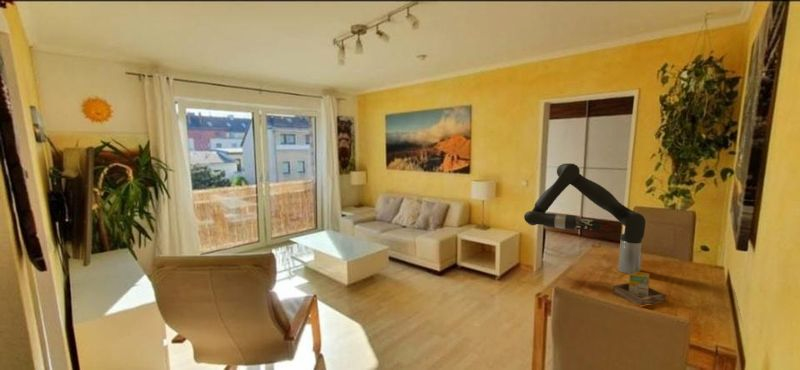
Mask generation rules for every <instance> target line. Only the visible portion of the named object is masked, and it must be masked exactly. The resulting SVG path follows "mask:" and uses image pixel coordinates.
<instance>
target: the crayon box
mask: <svg viewBox="0 0 800 370" xmlns="http://www.w3.org/2000/svg"><path fill="white" fill-rule="evenodd" d="M636 273H638V274H636ZM650 275H651V274H650V273H649V272H648V273H647V272H643V271H642V272H641V271H640V272H636V271H630V274H629V281H628V283H629V291H628V292H629V293H631V294H633V295H636V296H641V297H648V291H649V287H650Z"/></svg>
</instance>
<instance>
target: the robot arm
mask: <svg viewBox="0 0 800 370" xmlns="http://www.w3.org/2000/svg"><path fill="white" fill-rule="evenodd" d="M580 173H581V172H580V167H579V166H578V165H577V164H575V163H562V164H560V165H558V167H557V169H556V175H557V176H558V178H557V179H556V180H555V181H554V183H553V184H552V185H550V187H548V188H547V189H546V190H545V191H544V192H543V193H542V194H541V196H539V198H538V199H537V200H536V202H535V204H534V207H533V209H532V210H529V211H527V212H526V213H525V214H524V216H523V219H524V221H525V223H527V224H528V225H530V226H537V225H540V226H541V225H542V226H544V227H548V228H549V227H550V228H557V229H561V230H570V231H575V230H576V229H577V230H581V231H592V230H596V231H601V230H602V226H603V222H602V221H601V220H594V219H593V218H584V217H579V218H578V219H577V216H576V215H571V214H564V213H563V214H562V213H561V214H557V213H546V212H547V211H548V210H549V209H550V207H551V206H552V205H553V203H554V202H555V201H556V200H557V198H558V197H559V196H560V195H561V194H562V193H563V192H564V190H565V189H567V188H568V187H569V186H570V185H571V186H572V187H573V188H575V189H576V190H578V191H579V192H580V193H581V194H582V195H583V196H585V198H587V199H588V200H589V201H591V202H592V203H593V204H595V205H596V206H597V207H599V208H601V209H602V210H604V211H607V212H608V213H610V215H612V216H613V217H614V218H615V219H616V220H618V222H619V223H621V225H622V226H624V233H622V234H621V235H620V240H619V241H620V245H619V255H618V257H619V258H618V270H619V272H621V273H623V274H628V275H630V271H636V272H641V270H642V269H641V267H642V254H641V253H642V241H643V238H644V237H645V230H646V219H645V217H644V215H643V214H642V213H639V212H637V211H635V210H632V209H630V208H629V207H627V206H625V205H624V204H622V203H621V202H620V201H619V200H617V198H616V197H615V196H614V194H613V193H611V192H610V191H609V190H607V189H606V188H604V186H601V185H600V184H598V183H597V182H595V181H592V180H591V179H588V178H587V177H585V176H583V175H582V174H580ZM636 274H639V273H636Z"/></svg>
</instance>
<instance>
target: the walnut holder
mask: <svg viewBox="0 0 800 370" xmlns="http://www.w3.org/2000/svg"><path fill="white" fill-rule="evenodd" d="M628 291H629V282H625V283H621V284H620V283H619V284H615V285H613V286H612V294H614V295H616V296H619V297H620V298H622V299H624V300H626V299H627V300H626V301H628V300H629V301H628V302H630V301H631V303H632V302H634V303H636V304H639V305H646V304H653V305H656V304H655V303H658V304H662V303H665V302H666V298H667V296H666V293H664V292H661V291H659V290H656V289H654V288H652V287H650V286H649V291H648V297H641V296H636V295H633V294H631V293H629V292H628ZM661 302H662V303H661ZM634 303H633V304H634ZM636 304H635V305H636Z"/></svg>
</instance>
